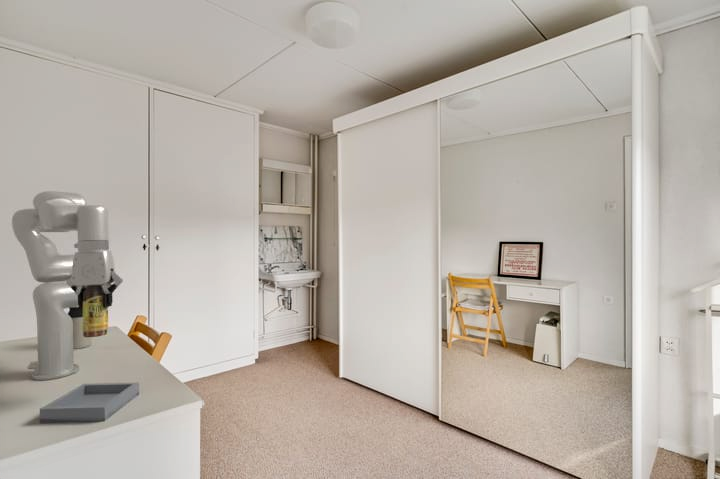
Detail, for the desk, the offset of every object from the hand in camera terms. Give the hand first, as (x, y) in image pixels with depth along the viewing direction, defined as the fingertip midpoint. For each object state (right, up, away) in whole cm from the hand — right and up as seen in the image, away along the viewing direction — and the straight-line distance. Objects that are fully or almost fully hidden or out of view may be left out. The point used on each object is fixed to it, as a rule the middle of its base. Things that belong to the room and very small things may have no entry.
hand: (95, 306), depth 112 cm
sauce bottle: (0, -9, 0) cm, 9 cm away
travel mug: (-41, -26, +48) cm, 68 cm away
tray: (+6, -26, -9) cm, 28 cm away
